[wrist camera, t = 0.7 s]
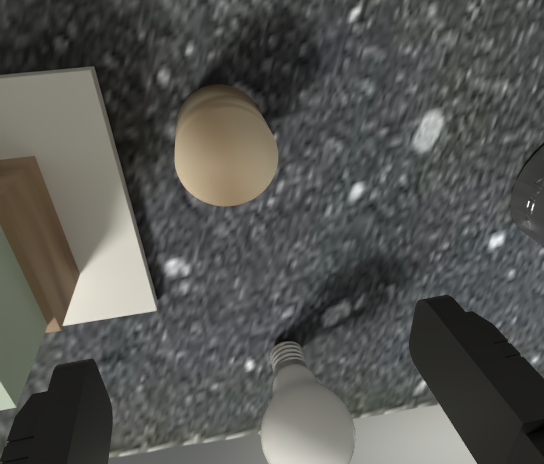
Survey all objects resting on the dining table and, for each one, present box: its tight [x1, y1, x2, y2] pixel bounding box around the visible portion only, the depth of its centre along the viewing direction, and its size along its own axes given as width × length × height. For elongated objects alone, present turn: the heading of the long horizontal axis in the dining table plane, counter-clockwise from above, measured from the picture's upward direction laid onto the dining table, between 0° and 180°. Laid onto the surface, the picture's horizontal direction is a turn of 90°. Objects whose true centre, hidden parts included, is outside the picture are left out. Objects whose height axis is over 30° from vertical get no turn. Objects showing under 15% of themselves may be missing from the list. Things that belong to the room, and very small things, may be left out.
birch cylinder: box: [175, 84, 278, 206], centre depth 22 cm, size 5×5×5 cm
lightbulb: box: [261, 341, 355, 464], centre depth 30 cm, size 6×6×11 cm
